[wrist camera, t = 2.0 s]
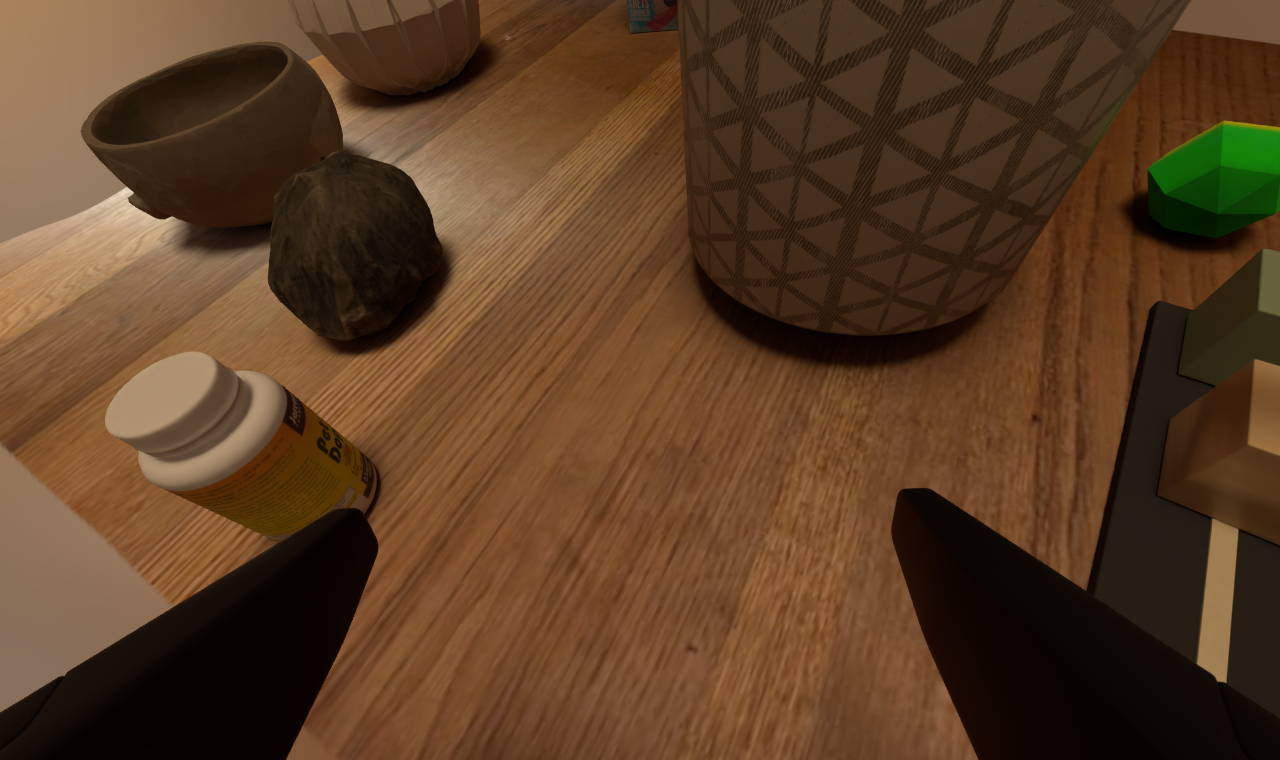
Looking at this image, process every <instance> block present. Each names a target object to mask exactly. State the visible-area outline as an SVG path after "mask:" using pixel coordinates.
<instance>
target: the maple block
mask: <svg viewBox="0 0 1280 760" xmlns="http://www.w3.org/2000/svg"><path fill="white" fill-rule="evenodd" d="M1157 495H1158V496H1160V497H1163V498H1165V499H1168V500H1170V501H1173V502H1175V503H1177V504H1180V505H1182V506H1185V507H1187V508H1190V509H1192V510H1194V511H1197V512H1199V513H1202V514H1204V515H1207V516H1209V517H1211V518H1214V519H1216V520H1219V521H1221V522H1224V523H1226V524H1229V525H1231V526H1233V527H1236V528H1238V529H1241V530H1243V531H1246V532H1248V533H1250V534H1253V535H1255V536H1258V537H1260V538H1263V539H1265V540H1267V541H1270V542H1272V543H1275V544H1277V545H1280V366H1277V365H1274V364H1270V363H1267V362H1264V361H1260V360H1257V359H1254V360H1253V361H1251V362H1250V363H1249V364H1247V365H1246V366H1244V367H1243V368H1241V369H1240V370H1239V371H1237V372H1236V373H1234V374H1233V375H1232V376H1230V377H1229V378H1227V379H1226V380H1224V381H1223V382H1222V383H1220V384H1219V385H1217V386H1216V387H1215V388H1213V389H1212V390H1210V391H1209V392H1208V393H1206V394H1205V395H1203V396H1202V397H1200V398H1199V399H1198V400H1196V401H1195V402H1193V403H1192V404H1191V405H1189V406H1188V407H1186V408H1185V409H1183V410H1182V411H1181V412H1179V413H1178V414H1176V415H1175V416H1174V417H1172V418H1171V419H1170V423H1169V429H1168V434H1167V440H1166V446H1165V452H1164V458H1163V464H1162V469H1161V475H1160V481H1159V487H1158V493H1157Z"/></svg>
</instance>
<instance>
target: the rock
mask: <svg viewBox="0 0 1280 760" xmlns="http://www.w3.org/2000/svg"><path fill="white" fill-rule="evenodd" d="M274 204H275V209H274V219H273V222H272V226H271V234H270V248H271V250H270V258H269V271H268V283H269V286H270V289H271V290H272V292H273V293H274V294H275V295H276V297H277V298H278V299H279V301H280V302H281V303H283V304H284V305H285V306H286V307H287V308H288V309H289V310H290V311H291V312H292V313H293V314H294V315H295V316H296V317H298V318H299V319H300V320H301V321H302V322H303V323H304V324H305V325H306V326H308V327H309V328H310V329H311V330H313V331H314V332H315V333H316V334H318V335H319V336H326V337H329V338H331V339H334V340H346V341H349V340H352V339H354V338H357V337H359V336H362V335H366V334H372V333H376V332H379V331H381V330H384V329H386V328H387V327H388V326H389V324H390V322H391V321H393V320H394V319H395V318H397V317H398V315H399V313H400V311H401V309H402V308H403V307H404V306H406V305H407V304H409V303H410V302H411V301H413V300H414V299H415V296H416V292H417V290H418V288H419V286H420V285H421V283H422V282H423V281H424V279H425V278H426V277H428V276H430V275H431V274H432V273H433V272H434V271H435V270H436V269H437V268H438V266H439V264H440V263H441V261H442V253H443V252H442V245H441V243H440V241H439V239H438V238H437V235H436V233H435V229H434V225H433V218H432V215H431V211H430V209H429V207H428V205H427V203H426V201H425V200H424V198H423V196H422V195H421V193H420V191H419V190H418V188H417V187H416V185H415V183H414V181H413V180H412V178H411V177H410V176H408V175H407V174H406V173H405V172H403V171H402V170H401V169H399V168H397V167H395V166H393V165H391V164H387V163H383V162H380V161H376V160H373V159H369V158H366V157H362V156H358V155H353V154H348V153H344V152H340V151H337V152H332V153H331V154H329V155H328V156H327V157H326V158H325V159H324V160H322V161H321V162H319V163H316V164H314V165H312V166H310V167H307V168H305V169H303V170H301V171H299V172H297V173H295V174H294V175H292V176H291V177H290V178H289V179H288V180H287V181H286V182H285V183H284V184H283V185H282V187H281V189H280V191H279V192H278V193H276V195H275V196H274Z"/></svg>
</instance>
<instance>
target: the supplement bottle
mask: <svg viewBox="0 0 1280 760" xmlns="http://www.w3.org/2000/svg"><path fill="white" fill-rule="evenodd" d="M105 426H106V428H107V430H108V431H109V433H110V434H112V435H113V436H115V437H117V438H118V439H120V440H122V441H124V442H126V443H128V444H130V445H132V446H133V447H134V448H135V449H136V450H138V451H139V455H138V459H139V465H140V468H141V471H142V473H143V474H144V476H145V477H146V478H147V479H148V480H149V481H150V482H152V483H153V484H155V485H157V486H159V487H161V488H163V489H165V490H167V491H169V492H171V493H174V494H176V495H178V496H180V497H182V498H184V499H187V500H189V501H191V502H193V503H195V504H198V505H200V506H202V507H204V508H206V509H208V510H211V511H213V512H215V513H217V514H219V515H221V516H223V517H226V518H228V519H230V520H232V521H234V522H236V523H238V524H241V525H243V526H245V527H247V528H249V529H251V530H253V531H255V532H257V533H260V534H262V535H264V536H266V537H268V538H270V539H273V540H275V541H277V542H281V541H283V540H284V539H286V538H287V537H289V536H291V535H292V534H294V533H296V532H297V531H299V530H301V529H302V528H304V527H305V526H307V525H309V524H310V523H312V522H314V521H315V520H317V519H319V518H320V517H322V516H323V515H325V514H327V513H328V512H330V511H332V510H334V509H339V508H357V509H360V510H361V511H362V512H363V513H364V514H365V512H366V511H367V509H368V508H369V506H370V504H371V502H372V500H373V497H374V494H375V490H376V485H377V477H376V471H375V468H374V466H373V464H372V462H371V461H370V460H369V458H368V457H367V456H365V455H364V454H363V453H362V452H361V451H360V450H359V449H357V448H356V447H355V446H354V445H353V444H352V443H350V442H349V441H348V440H347V439H345V438H344V437H343V436H342V435H341V434H340V433H338V432H337V431H336V430H335V429H333V428H332V427H331V426H330V425H329V424H327V423H326V422H325V421H324V420H323V419H322V418H320V417H319V416H318V415H317V414H316V413H314V412H313V411H312V410H311V409H310V408H309V407H307V406H306V405H305V404H304V403H302V402H301V401H300V400H299V399H298V398H296V397H295V396H294V395H293V394H292V393H290V392H289V391H288V390H287V389H286V388H285V387H284V386H282V385H281V384H280V383H278V382H277V381H275V380H274V379H273V378H271V377H269V376H268V375H265V374H263V373H260V372H255V371H233V370H232V369H230V368H228V367H226V366H224V365H223V364H221V363H220V362H219V361H217V360H216V359H214V358H213V357H212V356H210V355H208V354H206V353H202V352H185V353H180V354H176V355H173V356H170V357H167V358H165V359H162V360H160V361H158V362H156V363H154V364H152V365H151V366H149V367H147V368H146V369H144V370H143V371H141V372H140V373H138V374H137V375H136V376H134V377H133V378H132V379H131V380H130V381H129V382H128V383H126V384H125V385H124V386H123V387H122V388H121V389H120V390H119V392H118V393H117V394H116V395H115V397H114V398H113V400H112V401H111V403H110V405H109V407H108V409H107V412H106V416H105Z"/></svg>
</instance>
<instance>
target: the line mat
mask: <svg viewBox="0 0 1280 760" xmlns="http://www.w3.org/2000/svg"><path fill="white" fill-rule="evenodd" d="M1193 311H1194V310H1191V309H1187V308H1184V307H1180V306H1176V305H1173V304H1169V303H1166V302H1162V301H1157V302H1156V303H1155V304H1154V305H1153V306H1152V307H1151V311H1150V315H1149V320H1148V324H1147V329H1146V333H1145V338H1144V342H1143V347H1142V351H1141V356H1140V360H1139V365H1138V369H1137V374H1136V378H1135V383H1134V387H1133V392H1132V396H1131V400H1130V405H1129V409H1128V414H1127V418H1126V423H1125V427H1124V432H1123V436H1122V441H1121V445H1120V450H1119V454H1118V459H1117V463H1116V468H1115V472H1114V476H1113V481H1112V485H1111V490H1110V494H1109V499H1108V503H1107V508H1106V512H1105V517H1104V521H1103V526H1102V530H1101V535H1100V539H1099V544H1098V548H1097V553H1096V557H1095V561H1094V566H1093V570H1092V575H1091V579H1090V584H1089V588H1088V593H1090V594H1091V595H1093V596H1094V597H1096V598H1097V599H1099V600H1100V601H1102V602H1103V603H1105V604H1106V605H1108V606H1109V607H1111V608H1113V609H1114V610H1116V611H1117V612H1119V613H1120V614H1122V615H1123V616H1125V617H1126V618H1128V619H1129V620H1131V621H1132V622H1134V623H1135V624H1137V625H1138V626H1140V627H1141V628H1143V629H1144V630H1146V631H1148V632H1149V633H1151V634H1152V635H1154V636H1155V637H1157V638H1158V639H1160V640H1161V641H1163V642H1164V643H1166V644H1167V645H1169V646H1170V647H1172V648H1173V649H1175V650H1176V651H1178V652H1179V653H1181V654H1182V655H1184V656H1186V657H1187V658H1189V659H1190V660H1192V661H1193V662H1195V663H1196V664H1198V665H1199V666H1201V667H1202V668H1204V669H1205V670H1207V671H1208V672H1210V673H1211V674H1213V675H1214V676H1215V677H1216V679H1217V682H1225V683H1227V684H1229V685H1230V686H1232V687H1233V688H1235V689H1236V690H1238V691H1239V692H1241V693H1242V694H1244V695H1245V696H1247V697H1248V698H1250V699H1251V700H1253V701H1254V702H1256V703H1257V704H1259V705H1260V706H1262V707H1264V708H1265V709H1267V710H1268V711H1270V712H1271V713H1273V714H1274V715H1276V716H1277V717H1279V718H1280V545H1277V544H1275V543H1272V542H1270V541H1267V540H1265V539H1263V538H1260V537H1258V536H1255V535H1253V534H1250V533H1248V532H1246V531H1243V530H1241V529H1238V528H1236V527H1233V526H1231V525H1229V524H1226V523H1224V522H1221V521H1219V520H1216V519H1214V518H1211V517H1209V516H1207V515H1204V514H1202V513H1199V512H1197V511H1194V510H1192V509H1190V508H1187V507H1185V506H1182V505H1180V504H1177V503H1175V502H1173V501H1170V500H1168V499H1165V498H1163V497H1160V496H1158V495H1157V493H1158V487H1159V481H1160V475H1161V469H1162V464H1163V458H1164V452H1165V446H1166V440H1167V434H1168V429H1169V423H1170V419H1171V418H1172V417H1174V416H1175V415H1176V414H1178V413H1179V412H1181V411H1182V410H1183V409H1185V408H1186V407H1188V406H1189V405H1191V404H1192V403H1193V402H1195V401H1196V400H1198V399H1199V398H1200V397H1202V396H1203V395H1205V394H1206V393H1208V392H1209V391H1210V390H1212V389H1213V388H1215V387H1216V386H1214V385H1211V384H1208V383H1205V382H1202V381H1199V380H1196V379H1193V378H1189V377H1186V376H1183V375H1180V374H1178V371H1179V365H1180V360H1181V354H1182V348H1183V342H1184V336H1185V330H1186V324H1187V319H1188V315H1189V314H1191V313H1192V312H1193Z"/></svg>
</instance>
